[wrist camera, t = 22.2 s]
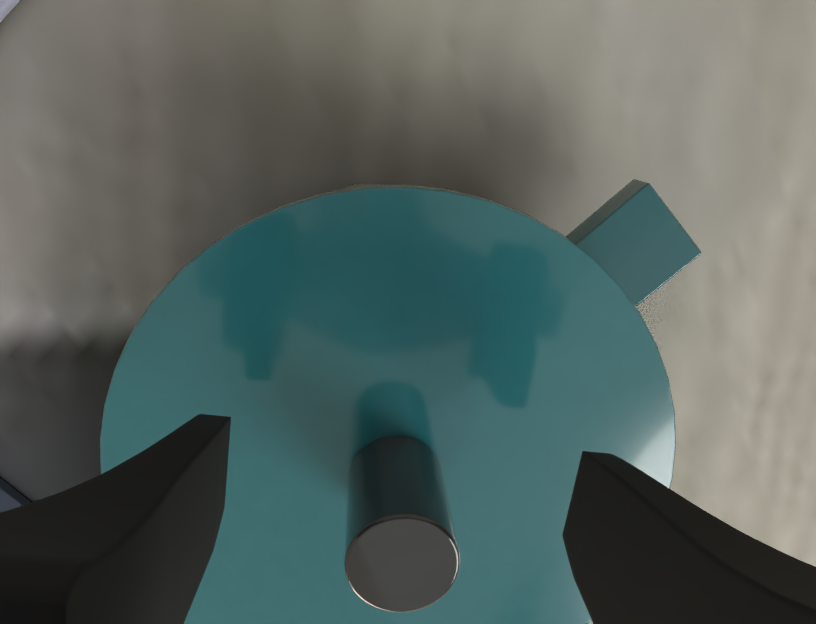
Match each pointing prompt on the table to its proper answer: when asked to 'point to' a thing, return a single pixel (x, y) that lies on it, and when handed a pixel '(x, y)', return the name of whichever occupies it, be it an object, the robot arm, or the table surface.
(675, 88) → the table surface
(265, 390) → the pot lid
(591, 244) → the pot
